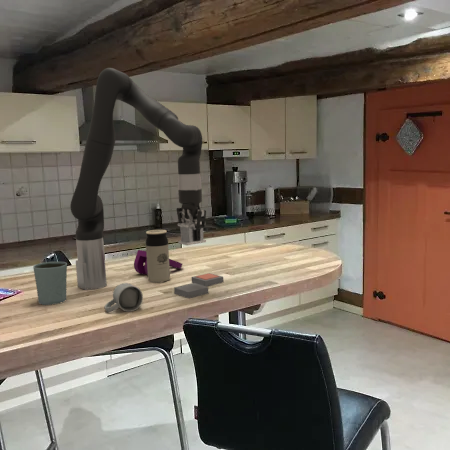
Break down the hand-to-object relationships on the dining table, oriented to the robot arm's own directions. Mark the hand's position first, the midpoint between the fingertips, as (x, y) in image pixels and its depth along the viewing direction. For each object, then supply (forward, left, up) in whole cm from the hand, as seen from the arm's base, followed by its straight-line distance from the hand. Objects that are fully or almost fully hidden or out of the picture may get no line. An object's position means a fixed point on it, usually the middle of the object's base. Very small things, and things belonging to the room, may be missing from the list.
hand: (192, 239), depth 164 cm
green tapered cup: (-38, +25, -18) cm, 49 cm away
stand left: (-2, -1, -17) cm, 17 cm away
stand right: (+10, +6, -17) cm, 21 cm away
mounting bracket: (+7, +32, -18) cm, 37 cm away
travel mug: (0, +22, -17) cm, 28 cm away
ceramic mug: (-26, 0, -18) cm, 32 cm away
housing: (0, 0, -1) cm, 1 cm away
